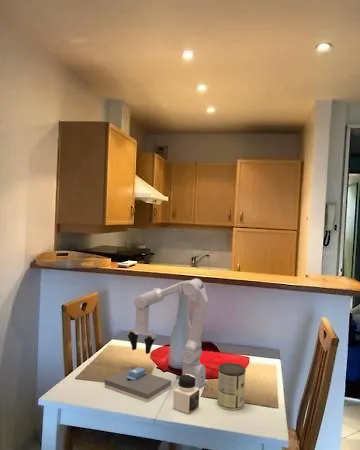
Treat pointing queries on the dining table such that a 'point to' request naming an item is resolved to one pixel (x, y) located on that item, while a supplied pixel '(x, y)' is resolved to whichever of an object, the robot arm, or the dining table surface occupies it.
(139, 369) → the servo
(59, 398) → the dining table surface
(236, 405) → the coffee can
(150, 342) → the robot arm
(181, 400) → the medicine bottle
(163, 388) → the grey flat block
